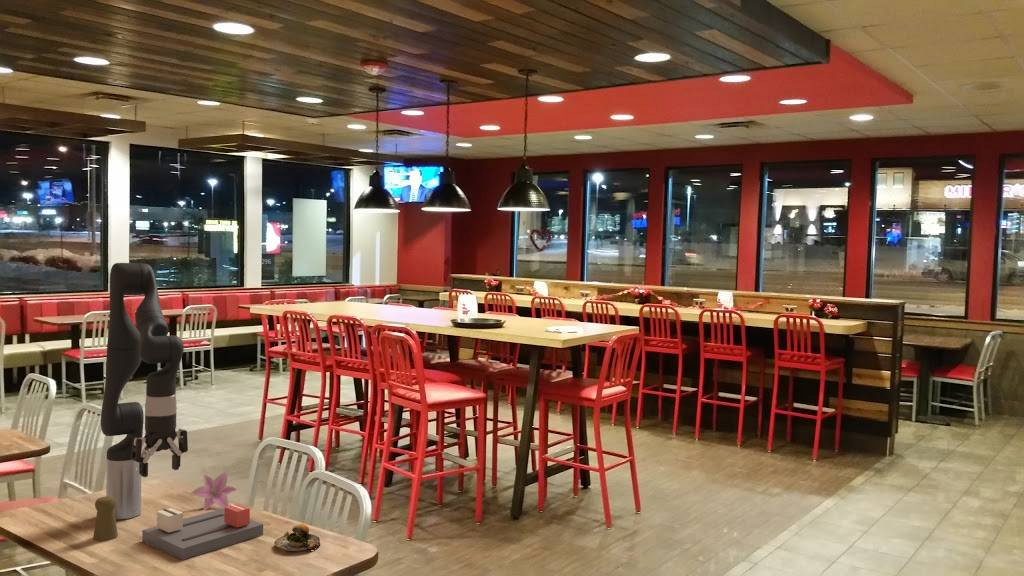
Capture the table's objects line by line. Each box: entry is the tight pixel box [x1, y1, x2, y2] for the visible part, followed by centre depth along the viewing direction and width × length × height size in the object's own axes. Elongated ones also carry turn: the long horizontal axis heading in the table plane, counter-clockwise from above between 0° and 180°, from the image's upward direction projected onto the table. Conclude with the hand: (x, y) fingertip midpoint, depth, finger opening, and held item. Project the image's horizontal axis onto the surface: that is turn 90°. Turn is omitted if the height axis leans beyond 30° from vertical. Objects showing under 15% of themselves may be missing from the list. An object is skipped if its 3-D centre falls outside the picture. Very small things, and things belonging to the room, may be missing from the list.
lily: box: [190, 470, 238, 511], centre depth 244 cm, size 12×12×10 cm
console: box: [141, 508, 264, 561], centre depth 217 cm, size 20×24×3 cm
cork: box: [92, 496, 119, 542], centre depth 215 cm, size 6×6×11 cm
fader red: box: [223, 503, 251, 528], centre depth 219 cm, size 6×4×5 cm, turn 53°
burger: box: [273, 516, 321, 552], centre depth 212 cm, size 12×12×8 cm
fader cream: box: [156, 507, 184, 533], centre depth 214 cm, size 6×4×5 cm, turn 53°
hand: (159, 472), depth 207 cm, fingers open, 8 cm apart
